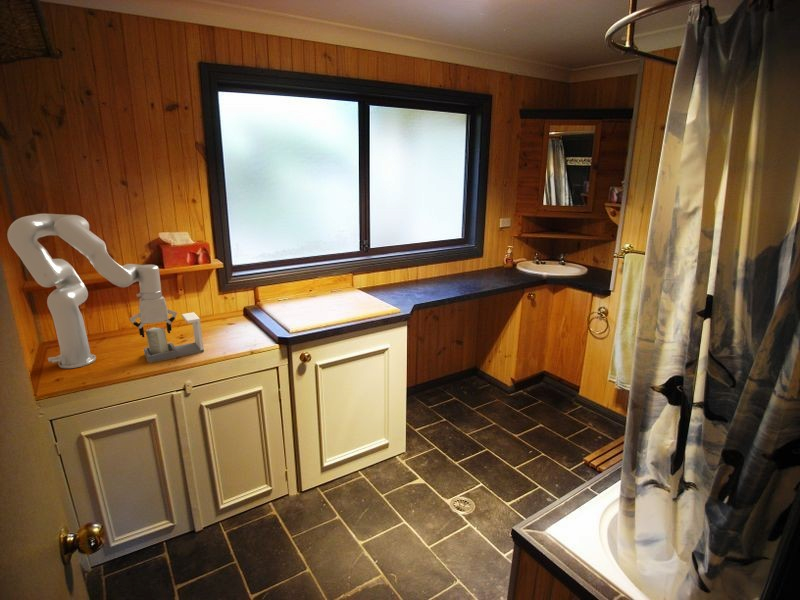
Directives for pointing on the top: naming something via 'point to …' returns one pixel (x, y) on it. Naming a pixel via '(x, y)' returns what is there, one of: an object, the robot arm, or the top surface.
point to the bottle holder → (182, 349)
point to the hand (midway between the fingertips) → (156, 334)
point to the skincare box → (157, 340)
